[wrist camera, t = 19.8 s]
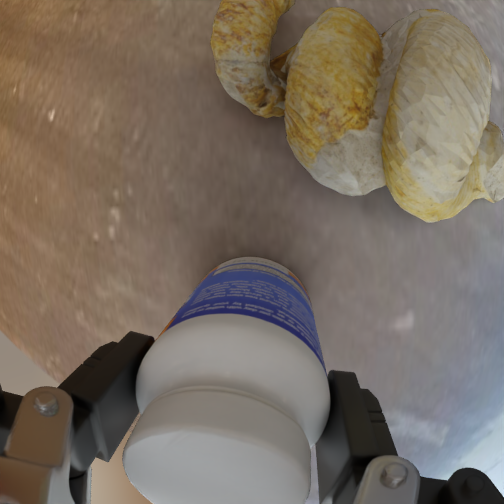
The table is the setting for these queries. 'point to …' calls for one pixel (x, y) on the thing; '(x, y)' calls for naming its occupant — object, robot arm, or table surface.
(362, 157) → the seashell
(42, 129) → the table surface
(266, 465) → the pill bottle
